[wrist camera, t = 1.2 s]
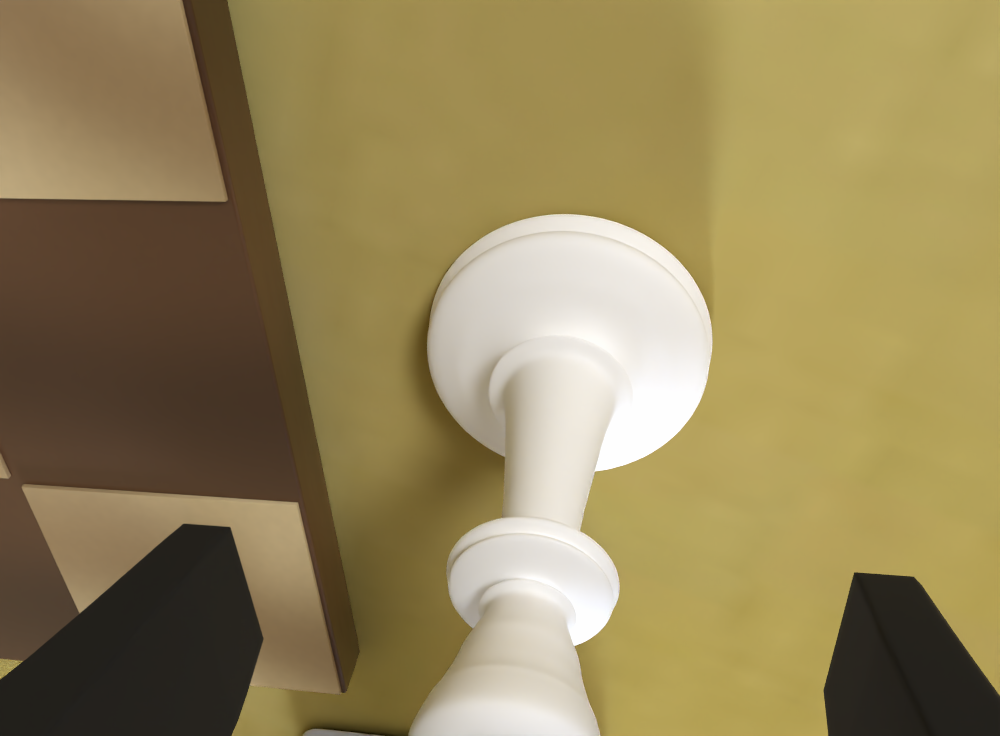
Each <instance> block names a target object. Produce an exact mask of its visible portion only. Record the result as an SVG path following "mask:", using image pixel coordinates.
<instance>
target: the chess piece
mask: <svg viewBox="0 0 1000 736" xmlns="http://www.w3.org/2000/svg"><path fill="white" fill-rule="evenodd" d="M711 354H712V327H711V321H710V316H709V312H708V309H707V306H706V303H705V300H704V298H703V296H702V294H701V292H700V290H699V288H698V286H697V284H696V283H695V281H694V279H693V278H692V277H691V275H690V274H689V272H688V271H687V270H686V269H685V267H684V266H683V265H682V264H681V263H680V262H679V261H678V260H677V259H676V258H675V257H674V256H673V255H672V254H671V253H670V252H669V251H667V250H666V249H665V248H664V247H662V246H661V245H660V244H658V243H657V242H656V241H654V240H652V239H651V238H649V237H648V236H646V235H644V234H642V233H640V232H638V231H636V230H634V229H632V228H630V227H627V226H625V225H622V224H620V223H617V222H613V221H610V220H606V219H602V218H598V217H592V216H585V215H575V214H554V215H544V216H537V217H532V218H527V219H523V220H520V221H517V222H513V223H511V224H508V225H505V226H503V227H501V228H499V229H497V230H495V231H493V232H491V233H489V234H487V235H486V236H484V237H482V238H481V239H479V240H478V241H477V242H475V243H474V244H473V245H471V246H470V247H469V248H468V249H467V250H465V251H464V252H463V253H462V254H461V255H460V256H459V257H458V258H457V260H456V261H455V262H454V263H453V264H452V266H451V267H450V268H449V270H448V271H447V273H446V274H445V276H444V278H443V279H442V281H441V283H440V285H439V287H438V290H437V292H436V295H435V298H434V301H433V304H432V309H431V314H430V323H429V330H428V337H427V356H428V364H429V369H430V373H431V377H432V380H433V383H434V385H435V388H436V390H437V392H438V395H439V397H440V398H441V400H442V402H443V404H444V405H445V407H446V408H447V410H448V411H449V413H450V414H451V415H452V417H453V418H454V419H455V420H456V421H457V422H458V424H459V425H460V426H461V427H462V428H463V429H464V430H465V431H466V432H468V433H469V434H470V435H471V436H472V437H473V438H475V439H476V440H477V441H479V442H480V443H481V444H483V445H484V446H486V447H487V448H489V449H491V450H492V451H494V452H496V453H498V454H499V455H501V456H504V457H505V475H504V499H503V509H502V518H500V519H495V520H492V521H488V522H486V523H483V524H481V525H479V526H477V527H475V528H473V529H471V530H470V531H468V532H467V533H466V534H465V535H463V536H462V537H461V538H460V539H459V540H458V541H457V543H456V544H455V545H454V547H453V549H452V550H451V552H450V555H449V557H448V561H447V568H446V575H447V581H448V591H449V595H450V599H451V601H452V604H453V606H454V608H455V609H456V611H457V612H458V614H459V615H460V616H461V617H462V619H463V620H464V621H465V622H466V623H467V624H468V625H470V626H471V627H472V628H473V629H472V631H471V632H470V633H469V635H468V636H467V638H466V639H465V641H464V642H463V644H462V646H461V648H460V650H459V653H458V655H457V656H456V658H455V660H454V661H453V663H452V664H451V666H450V667H449V669H448V670H447V672H446V673H445V675H444V676H443V678H442V679H441V680H440V681H439V682H438V683H437V684H436V685H435V686H434V688H433V689H432V690H431V692H430V694H429V695H428V697H427V698H426V700H425V701H424V703H423V705H422V706H421V708H420V710H419V711H418V713H417V715H416V717H415V719H414V721H413V723H412V725H411V728H410V731H409V734H408V736H601V735H600V732H599V728H598V724H597V721H596V718H595V715H594V712H593V710H592V708H591V706H590V704H589V701H588V698H587V694H586V691H585V688H584V684H583V680H582V675H581V668H580V663H579V659H578V655H577V652H576V650H575V647H574V646H575V645H578V644H581V643H583V642H585V641H587V640H588V639H590V638H592V637H593V636H594V635H596V634H597V633H598V632H599V631H600V630H601V629H602V628H603V627H604V626H605V624H606V623H607V621H608V620H609V618H610V616H611V613H612V610H613V609H614V607H615V605H616V602H617V599H618V595H619V578H618V574H617V570H616V568H615V566H614V564H613V562H612V560H611V558H610V557H609V556H608V554H607V553H606V552H605V551H604V549H603V548H602V547H601V546H600V545H599V544H598V543H596V542H595V541H594V540H593V539H592V538H590V537H589V536H587V535H586V534H584V533H582V532H581V531H580V528H581V524H582V519H583V514H584V510H585V506H586V502H587V499H588V495H589V491H590V487H591V484H592V480H593V476H594V473H595V471H601V470H606V469H611V468H615V467H619V466H622V465H625V464H628V463H631V462H633V461H636V460H638V459H640V458H642V457H644V456H646V455H648V454H650V453H652V452H653V451H655V450H657V449H658V448H660V447H661V446H662V445H664V444H665V443H666V442H668V441H669V440H670V439H671V438H672V437H674V436H675V435H676V434H677V433H678V432H679V431H680V430H681V429H682V427H683V426H684V425H685V424H686V423H687V421H688V420H689V419H690V417H691V416H692V414H693V413H694V411H695V409H696V408H697V406H698V404H699V402H700V400H701V397H702V395H703V392H704V389H705V386H706V382H707V377H708V371H709V364H710V360H711Z"/></svg>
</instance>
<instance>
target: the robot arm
mask: <svg viewBox="0 0 1000 736" xmlns="http://www.w3.org/2000/svg"><path fill="white" fill-rule="evenodd" d="M263 640H264V638H263V635H262V631H261V628H260V625H259V621H258V618H257V614H256V611H255V608H254V604H253V601H252V598H251V594H250V591H249V588H248V584H247V581H246V577H245V574H244V571H243V567H242V564H241V561H240V557H239V554H238V551H237V547H236V544H235V541H234V537H233V534H232V530H231V527H225V526H211V525H197V524H182V525H181V526H180V527H179V528H178V529H176V530H175V531H174V532H173V533H172V534H170V535H169V536H168V537H167V538H166V539H164V540H163V541H162V542H161V543H160V544H159V545H157V546H156V547H155V548H154V549H153V550H152V551H151V552H149V553H148V554H147V555H146V556H145V557H144V558H143V559H141V560H140V561H139V562H138V563H137V564H136V565H135V566H133V567H132V568H131V569H130V570H129V571H128V572H127V573H126V574H124V575H123V576H122V577H121V578H120V579H119V580H118V581H116V582H115V583H114V584H113V585H112V586H111V587H110V588H108V589H107V590H106V591H105V592H104V593H103V594H102V595H100V596H99V597H98V598H97V599H96V600H95V601H94V602H92V603H91V604H90V605H89V606H88V607H87V608H85V609H84V610H83V611H82V612H81V613H80V614H78V615H77V616H76V617H75V618H74V619H73V620H71V621H70V622H69V623H68V624H67V625H66V626H64V627H63V628H62V629H61V630H60V631H59V632H57V633H56V634H55V635H54V636H53V637H52V638H50V639H49V640H48V641H47V642H46V643H45V644H43V645H42V646H41V647H40V648H39V649H38V650H36V651H35V652H34V653H33V654H32V655H30V656H29V657H28V658H27V659H26V660H24V661H23V662H22V663H21V664H19V665H18V666H17V667H16V668H14V669H13V670H12V671H11V672H9V673H8V674H7V675H6V676H4V677H3V678H2V679H1V680H0V736H231V735H232V733H233V730H234V728H235V726H236V723H237V721H238V719H239V716H240V713H241V710H242V707H243V704H244V701H245V698H246V695H247V692H248V689H249V686H250V683H251V679H252V676H253V673H254V669H255V666H256V663H257V659H258V656H259V653H260V650H261V646H262V643H263ZM824 698H825V708H826V717H827V726H828V735H829V736H1000V696H999V694H998V693H997V692H996V690H995V689H994V687H993V686H992V685H991V683H990V682H989V680H988V679H987V678H986V676H985V675H984V674H983V672H982V671H981V669H980V668H979V667H978V665H977V664H976V663H975V661H974V660H973V658H972V657H971V656H970V654H969V653H968V651H967V650H966V649H965V647H964V646H963V644H962V643H961V641H960V640H959V639H958V637H957V636H956V634H955V633H954V631H953V630H952V629H951V627H950V626H949V624H948V623H947V621H946V620H945V619H944V617H943V616H942V614H941V613H940V611H939V610H938V608H937V607H936V605H935V604H934V603H933V601H932V600H931V598H930V597H929V595H928V594H927V592H926V591H925V589H924V588H923V587H922V585H921V584H920V583H919V582H918V581H917V580H916V579H915V578H914V577H910V576H896V575H882V574H869V573H855V572H854V576H853V580H852V583H851V587H850V591H849V595H848V599H847V603H846V606H845V610H844V614H843V618H842V622H841V626H840V629H839V633H838V637H837V641H836V645H835V649H834V652H833V656H832V660H831V664H830V668H829V672H828V675H827V679H826V683H825V687H824ZM303 736H383V735H373V734H364V733H354V732H345V731H335V730H326V729H311V730H308V731H306V732H305V733H304V734H303Z"/></svg>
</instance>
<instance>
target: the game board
mask: <svg viewBox="0 0 1000 736" xmlns="http://www.w3.org/2000/svg"><path fill="white" fill-rule="evenodd" d="M182 524H197V525H211V526H225V527H231V530H232V534H233V537H234V541H235V544H236V547H237V551H238V554H239V557H240V561H241V564H242V567H243V571H244V574H245V577H246V581H247V584H248V588H249V591H250V594H251V598H252V601H253V604H254V608H255V611H256V614H257V618H258V621H259V625H260V628H261V631H262V635H263V638H264V640H263V643H262V646H261V650H260V653H259V656H258V659H257V663H256V666H255V669H254V673H253V676H252V679H251V683H250V686H259V687H269V688H279V689H289V690H299V691H309V692H319V693H329V694H339V695H340V694H341V693H345V692H346V691H347V689H348V686H349V683H350V680H351V677H352V674H353V671H354V668H355V665H356V662H357V659H358V656H359V653H360V650H359V645H358V640H357V635H356V630H355V626H354V621H353V616H352V611H351V606H350V601H349V596H348V591H347V586H346V581H345V576H344V572H343V567H342V562H341V557H340V552H339V547H338V542H337V537H336V532H335V527H334V522H333V518H332V513H331V508H330V503H329V498H328V493H327V488H326V483H325V478H324V473H323V469H322V464H321V459H320V454H319V449H318V444H317V439H316V434H315V429H314V424H313V419H312V415H311V410H310V405H309V400H308V395H307V390H306V385H305V380H304V375H303V370H302V366H301V361H300V356H299V351H298V346H297V341H296V336H295V331H294V326H293V321H292V316H291V312H290V307H289V302H288V297H287V292H286V287H285V282H284V277H283V272H282V267H281V262H280V258H279V253H278V248H277V243H276V238H275V233H274V228H273V223H272V218H271V213H270V209H269V204H268V199H267V194H266V189H265V184H264V179H263V174H262V169H261V164H260V159H259V155H258V150H257V145H256V140H255V135H254V130H253V125H252V120H251V115H250V110H249V105H248V101H247V96H246V91H245V86H244V81H243V76H242V71H241V66H240V61H239V56H238V52H237V47H236V42H235V37H234V32H233V27H232V22H231V17H230V12H229V7H228V2H227V0H0V659H10V660H20V661H24V660H26V659H27V658H28V657H29V656H30V655H32V654H33V653H34V652H35V651H36V650H38V649H39V648H40V647H41V646H42V645H43V644H45V643H46V642H47V641H48V640H49V639H50V638H52V637H53V636H54V635H55V634H56V633H57V632H59V631H60V630H61V629H62V628H63V627H64V626H66V625H67V624H68V623H69V622H70V621H71V620H73V619H74V618H75V617H76V616H77V615H78V614H80V613H81V612H82V611H83V610H84V609H85V608H87V607H88V606H89V605H90V604H91V603H92V602H94V601H95V600H96V599H97V598H98V597H99V596H100V595H102V594H103V593H104V592H105V591H106V590H107V589H108V588H110V587H111V586H112V585H113V584H114V583H115V582H116V581H118V580H119V579H120V578H121V577H122V576H123V575H124V574H126V573H127V572H128V571H129V570H130V569H131V568H132V567H133V566H135V565H136V564H137V563H138V562H139V561H140V560H141V559H143V558H144V557H145V556H146V555H147V554H148V553H149V552H151V551H152V550H153V549H154V548H155V547H156V546H157V545H159V544H160V543H161V542H162V541H163V540H164V539H166V538H167V537H168V536H169V535H170V534H172V533H173V532H174V531H175V530H176V529H178V528H179V527H180V526H181V525H182Z"/></svg>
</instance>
